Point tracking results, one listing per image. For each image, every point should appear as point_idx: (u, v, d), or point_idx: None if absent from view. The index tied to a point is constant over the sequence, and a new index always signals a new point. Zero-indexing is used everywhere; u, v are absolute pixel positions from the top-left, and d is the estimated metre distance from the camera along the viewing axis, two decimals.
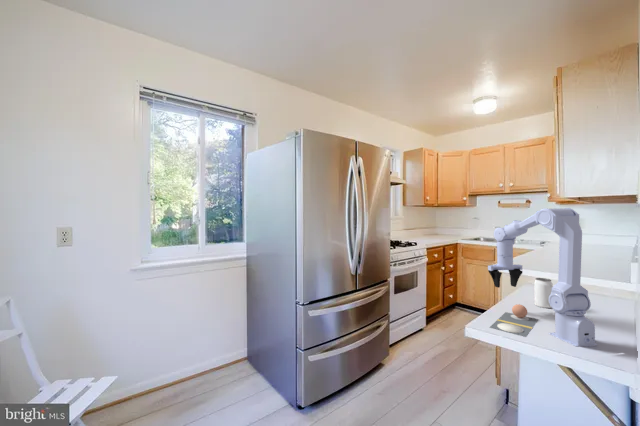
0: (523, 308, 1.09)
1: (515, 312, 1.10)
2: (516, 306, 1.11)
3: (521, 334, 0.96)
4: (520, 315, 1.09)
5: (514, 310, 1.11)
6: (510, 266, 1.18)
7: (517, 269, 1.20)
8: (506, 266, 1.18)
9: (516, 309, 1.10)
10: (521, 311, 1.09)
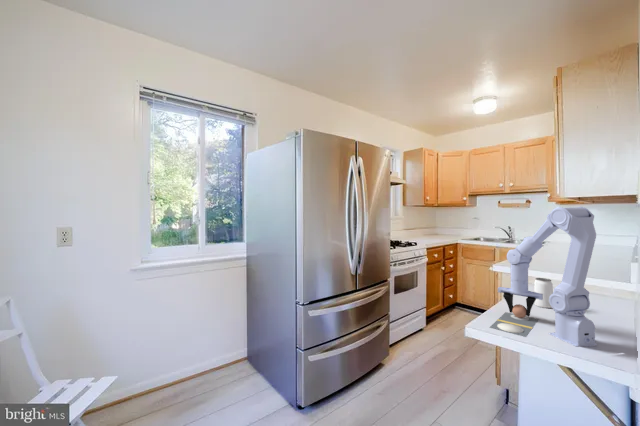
0: (523, 308, 1.09)
1: (515, 312, 1.10)
2: (516, 306, 1.11)
3: (521, 334, 0.96)
4: (520, 315, 1.09)
5: (514, 310, 1.11)
6: (517, 291, 1.09)
7: (534, 298, 1.07)
8: (513, 291, 1.10)
9: (516, 309, 1.10)
10: (521, 311, 1.09)
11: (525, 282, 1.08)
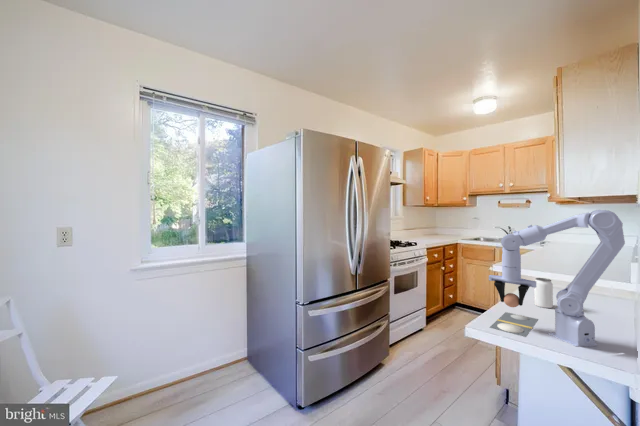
0: (515, 297, 1.01)
1: (507, 301, 1.02)
2: (508, 295, 1.03)
3: (521, 334, 0.96)
4: (512, 304, 1.01)
5: (505, 299, 1.03)
6: (509, 279, 1.01)
7: (527, 286, 0.99)
8: (504, 278, 1.02)
9: (508, 298, 1.02)
10: (513, 300, 1.01)
11: (517, 269, 1.00)
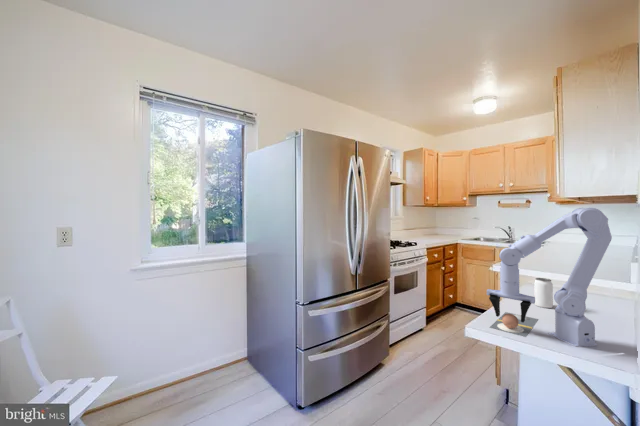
0: (514, 318, 0.99)
1: (505, 322, 1.00)
2: (506, 315, 1.01)
3: (521, 334, 0.96)
4: (510, 326, 0.99)
5: (504, 320, 1.01)
6: (507, 294, 0.99)
7: (526, 301, 0.97)
8: (503, 293, 1.00)
9: (506, 319, 1.00)
10: (512, 322, 0.99)
11: (516, 284, 0.98)
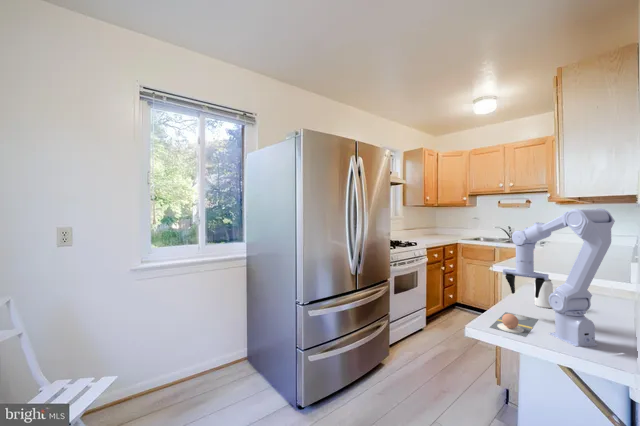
0: (514, 318, 0.99)
1: (505, 322, 1.00)
2: (506, 315, 1.01)
3: (521, 334, 0.96)
4: (510, 326, 0.99)
5: (504, 320, 1.01)
6: (523, 272, 1.08)
7: (540, 278, 1.06)
8: (518, 272, 1.10)
9: (506, 319, 1.00)
10: (512, 322, 0.99)
11: (531, 263, 1.08)
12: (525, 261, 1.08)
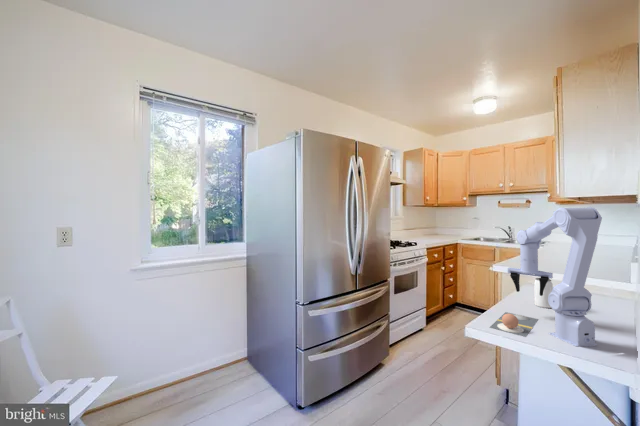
0: (514, 318, 0.99)
1: (505, 322, 1.00)
2: (506, 315, 1.01)
3: (521, 334, 0.96)
4: (510, 326, 0.99)
5: (504, 320, 1.01)
6: (527, 271, 1.11)
7: (544, 277, 1.09)
8: (523, 270, 1.13)
9: (506, 319, 1.00)
10: (512, 322, 0.99)
11: (535, 262, 1.10)
12: (528, 260, 1.11)
